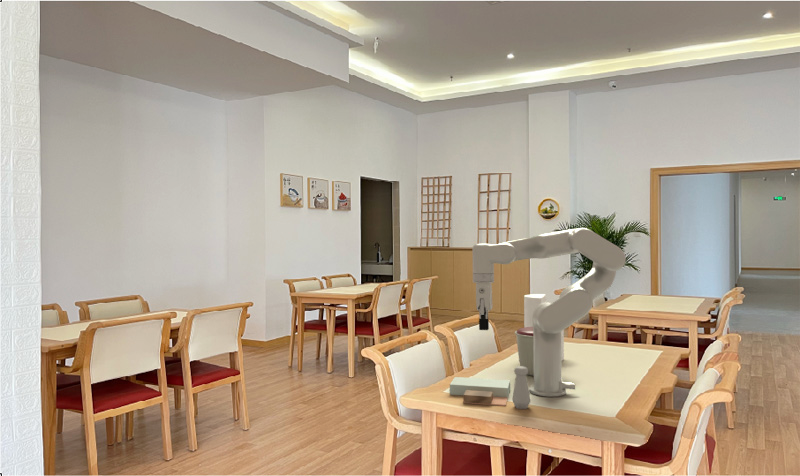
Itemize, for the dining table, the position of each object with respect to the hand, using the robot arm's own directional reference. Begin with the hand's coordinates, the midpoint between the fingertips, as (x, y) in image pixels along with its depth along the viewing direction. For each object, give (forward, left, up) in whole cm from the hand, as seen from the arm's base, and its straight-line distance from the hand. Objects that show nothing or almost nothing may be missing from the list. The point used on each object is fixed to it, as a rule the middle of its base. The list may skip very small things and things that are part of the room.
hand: (483, 329), depth 204 cm
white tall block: (-20, -61, -22) cm, 68 cm away
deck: (+1, +2, -22) cm, 22 cm away
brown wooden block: (0, +13, -20) cm, 24 cm away
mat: (-2, +12, -22) cm, 25 cm away
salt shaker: (-14, +16, -22) cm, 31 cm away
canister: (-18, -31, -22) cm, 42 cm away
